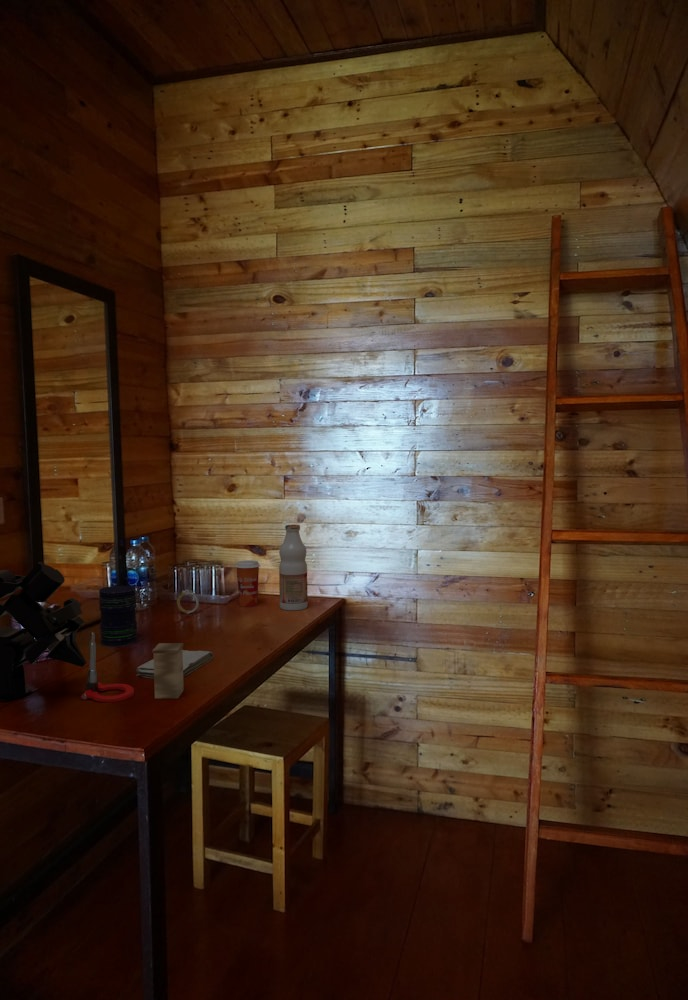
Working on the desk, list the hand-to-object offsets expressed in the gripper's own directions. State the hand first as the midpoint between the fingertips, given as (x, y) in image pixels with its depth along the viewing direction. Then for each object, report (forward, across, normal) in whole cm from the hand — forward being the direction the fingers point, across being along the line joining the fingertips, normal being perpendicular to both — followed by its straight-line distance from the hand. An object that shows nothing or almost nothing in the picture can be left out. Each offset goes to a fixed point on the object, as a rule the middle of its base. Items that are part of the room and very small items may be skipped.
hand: (84, 665), depth 149 cm
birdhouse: (+18, +2, -8) cm, 20 cm away
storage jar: (0, +42, +10) cm, 43 cm away
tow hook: (+9, 0, +1) cm, 9 cm away
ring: (+8, +74, +1) cm, 74 cm away
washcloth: (+16, +19, -5) cm, 25 cm away
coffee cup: (+21, +85, -12) cm, 89 cm away
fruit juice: (+33, +81, -23) cm, 90 cm away
